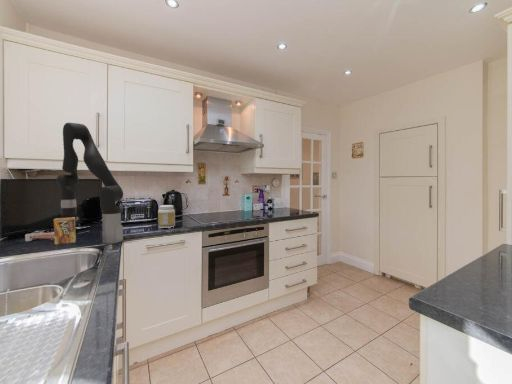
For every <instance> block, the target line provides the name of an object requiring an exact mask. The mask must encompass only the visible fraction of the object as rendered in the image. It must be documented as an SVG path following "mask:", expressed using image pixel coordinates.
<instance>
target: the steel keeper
mask: <svg viewBox="0 0 512 384" xmlns="http://www.w3.org/2000/svg"><path fill="white" fill-rule="evenodd" d="M39 232H41V230H35V231H33V233H34V234H31V233H26V234H25V235H24V239H25V242H31V241H33V238H32V236H37V235H43V233H44V232H42V233H39Z"/></svg>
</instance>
